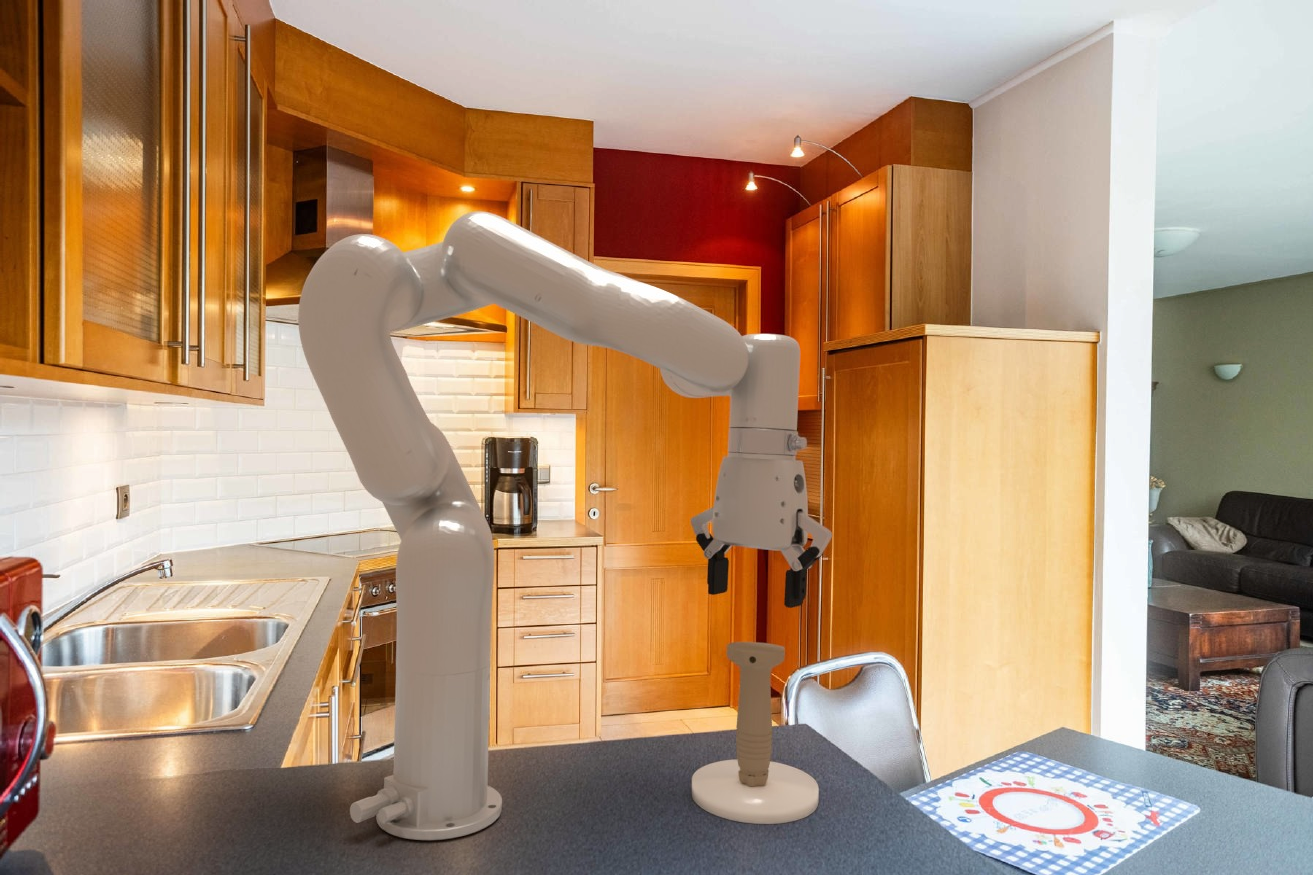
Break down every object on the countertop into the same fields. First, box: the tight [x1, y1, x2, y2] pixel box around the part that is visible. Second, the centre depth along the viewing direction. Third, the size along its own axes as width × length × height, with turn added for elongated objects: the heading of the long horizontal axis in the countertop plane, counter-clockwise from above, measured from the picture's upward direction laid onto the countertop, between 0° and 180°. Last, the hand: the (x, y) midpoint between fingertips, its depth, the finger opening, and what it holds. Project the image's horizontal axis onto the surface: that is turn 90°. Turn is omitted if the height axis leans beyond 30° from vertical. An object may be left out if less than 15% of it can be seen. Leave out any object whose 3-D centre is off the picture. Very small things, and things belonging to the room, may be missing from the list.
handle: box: [726, 641, 786, 787], centre depth 95 cm, size 5×6×15 cm
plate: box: [691, 758, 820, 825], centre depth 95 cm, size 14×14×2 cm
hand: (754, 599), depth 95 cm, fingers open, 9 cm apart
